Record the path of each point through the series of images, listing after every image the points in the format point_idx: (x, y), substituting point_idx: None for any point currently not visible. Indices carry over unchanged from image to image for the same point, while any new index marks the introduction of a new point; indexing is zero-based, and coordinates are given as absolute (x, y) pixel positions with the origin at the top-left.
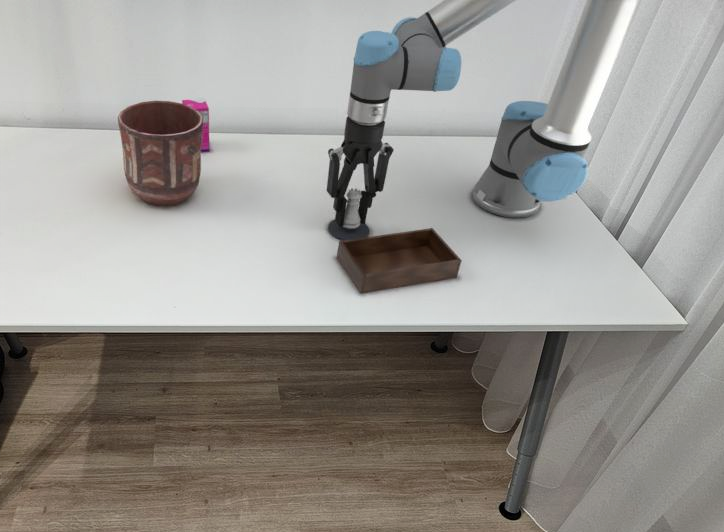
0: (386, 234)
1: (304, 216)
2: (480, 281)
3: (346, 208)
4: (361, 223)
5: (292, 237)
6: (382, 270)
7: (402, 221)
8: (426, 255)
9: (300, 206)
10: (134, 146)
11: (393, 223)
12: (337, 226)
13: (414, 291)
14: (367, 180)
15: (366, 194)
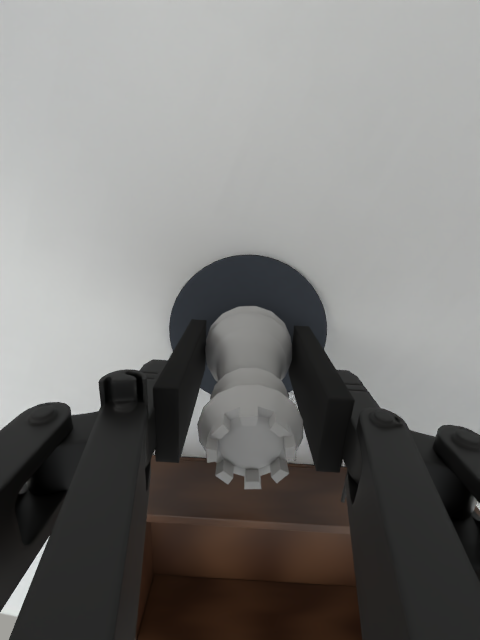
0: (307, 524)
1: (111, 183)
2: None
3: (218, 377)
4: (312, 317)
5: (28, 315)
6: (242, 533)
7: (476, 337)
8: None
9: (118, 85)
10: None
11: (434, 339)
12: (211, 310)
13: None
14: (363, 573)
15: (335, 445)
